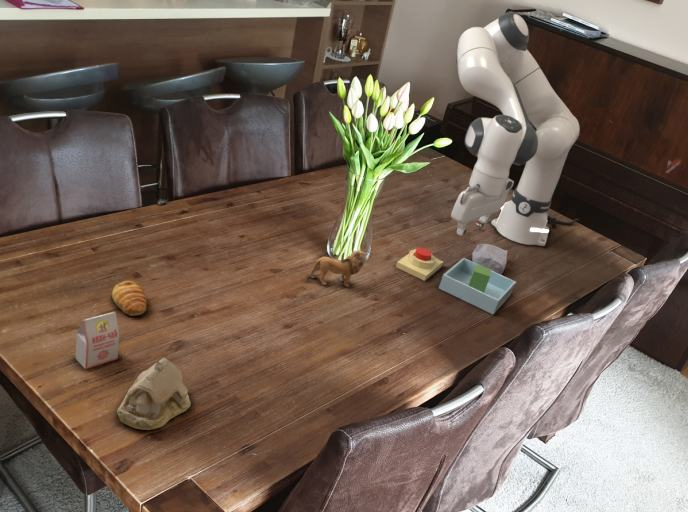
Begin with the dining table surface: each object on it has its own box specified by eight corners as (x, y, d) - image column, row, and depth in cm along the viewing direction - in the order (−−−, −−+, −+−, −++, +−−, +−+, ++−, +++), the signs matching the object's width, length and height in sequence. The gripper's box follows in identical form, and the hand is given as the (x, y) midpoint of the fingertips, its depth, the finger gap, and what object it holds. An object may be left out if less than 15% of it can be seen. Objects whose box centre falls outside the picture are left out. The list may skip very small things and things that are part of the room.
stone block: (470, 272, 218) (505, 276, 216) (472, 256, 215) (507, 260, 214) (472, 256, 228) (505, 260, 226) (474, 241, 225) (508, 245, 224)
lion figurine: (355, 276, 196) (363, 246, 191) (362, 287, 192) (371, 257, 187) (302, 275, 190) (309, 244, 185) (308, 287, 186) (316, 255, 181)
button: (418, 251, 210) (420, 246, 209) (432, 258, 208) (434, 252, 207) (411, 256, 206) (413, 250, 205) (425, 263, 205) (427, 257, 204)
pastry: (153, 316, 161) (154, 301, 159) (122, 319, 158) (123, 304, 156) (139, 292, 167) (140, 277, 165) (108, 295, 164) (109, 280, 162)
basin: (458, 270, 213) (463, 257, 211) (511, 295, 208) (516, 281, 206) (438, 288, 201) (443, 274, 199) (493, 314, 197) (498, 300, 194)
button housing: (413, 253, 215) (417, 243, 213) (441, 266, 212) (445, 256, 210) (395, 267, 206) (398, 256, 204) (424, 281, 203) (428, 269, 201)
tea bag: (75, 358, 144) (77, 315, 139) (107, 348, 149) (110, 306, 143) (85, 369, 142) (87, 325, 137) (117, 359, 147) (120, 316, 141)
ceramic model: (145, 376, 145) (149, 334, 139) (198, 397, 143) (205, 355, 138) (105, 418, 133) (108, 373, 128) (162, 441, 132) (168, 397, 126)
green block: (468, 282, 206) (475, 264, 203) (484, 288, 206) (491, 269, 203) (466, 290, 203) (474, 271, 199) (482, 295, 202) (490, 276, 199)
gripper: (475, 193, 181) (458, 244, 189) (517, 181, 196) (499, 228, 203) (455, 182, 184) (438, 232, 192) (497, 171, 199) (480, 218, 206)
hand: (470, 230), depth 198 cm, fingers open, 8 cm apart
